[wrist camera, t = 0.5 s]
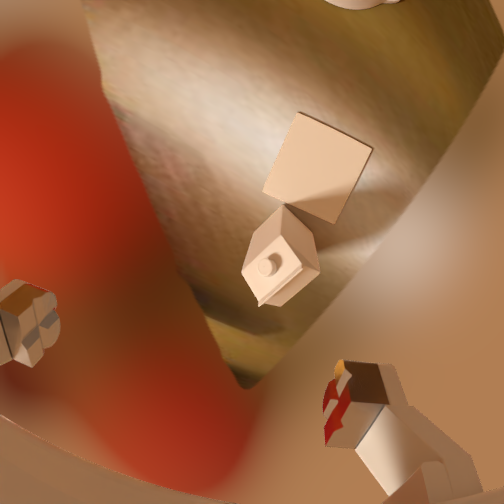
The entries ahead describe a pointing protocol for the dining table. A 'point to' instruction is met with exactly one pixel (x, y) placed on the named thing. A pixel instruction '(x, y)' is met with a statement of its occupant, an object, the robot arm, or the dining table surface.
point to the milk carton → (280, 258)
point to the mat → (316, 168)
